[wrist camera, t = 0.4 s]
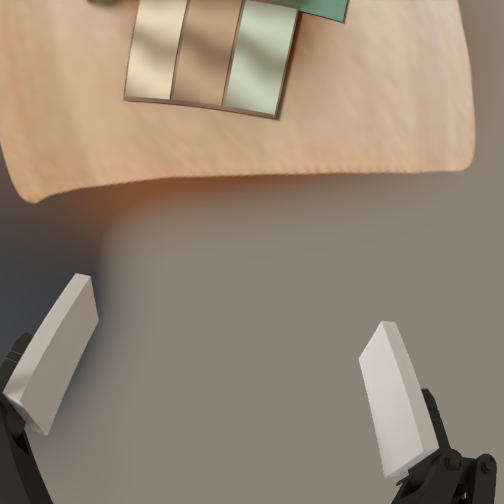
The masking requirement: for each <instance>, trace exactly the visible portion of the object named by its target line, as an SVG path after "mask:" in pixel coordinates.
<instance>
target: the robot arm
mask: <svg viewBox="0 0 504 504" xmlns="http://www.w3.org/2000/svg"><path fill="white" fill-rule="evenodd" d="M98 321H99V320H98V316H97V310H96V306H95V300H94V295H93V289H92V283H91V277H90V276H86V275H81V274H77V273H76V274H75V275H74V277H73V278H72V280H71V281H70V282H69V284H68V285H67V287H66V288H65V289H64V291H63V292H62V294H61V295H60V297H59V298H58V300H57V301H56V303H55V304H54V306H53V307H52V309H51V310H50V312H49V313H48V315H47V316H46V318H45V319H44V321H43V323H42V324H41V326H40V327H39V329H38V331H37V332H36V334H35V335H31V334H29V333H25V334H24V335H23V336H21V337H20V338H19V339H18V340H17V341H16V342H15V344H14V346H13V347H12V349H11V352H9V354H8V355H7V357H6V360H5V361H4V362H3V364H2V366H1V368H0V504H53V502H52V500H51V498H50V495H49V493H48V491H47V489H46V486H45V484H44V482H43V479H42V477H41V474H40V472H39V469H38V467H37V464H36V461H35V459H34V456H33V453H32V450H31V447H30V444H29V441H28V438H27V435H26V432H25V430H24V427H25V424H26V423H27V425H28V426H29V427H30V428H31V429H32V430H34V431H36V432H39V433H41V434H43V435H45V436H47V435H48V433H49V430H50V428H51V425H52V422H53V420H54V417H55V415H56V412H57V410H58V407H59V405H60V403H61V400H62V398H63V395H64V393H65V391H66V388H67V386H68V384H69V382H70V379H71V377H72V375H73V373H74V371H75V368H76V366H77V364H78V362H79V360H80V357H81V355H82V353H83V351H84V349H85V347H86V345H87V343H88V341H89V339H90V337H91V335H92V333H93V331H94V328H95V327H96V325H97V323H98ZM359 362H360V366H361V370H362V374H363V378H364V382H365V386H366V390H367V394H368V399H369V403H370V407H371V412H372V416H373V421H374V426H375V430H376V435H377V440H378V445H379V450H380V455H381V461H382V465H383V472H384V477H385V478H386V477H392V476H398V475H401V474H402V473H404V472H405V471H407V470H408V473H409V475H408V476H407V477H405V478H403V479H402V480H400V481H399V482H397V484H396V486H398V485H400V484H401V483H403V484H402V486H401V487H400V489H399V491H398V493H397V495H396V496H395V498H394V500H393V501H392V503H391V504H494V497H495V486H496V473H497V465H496V462H495V459H494V458H493V457H492V456H491V455H489V454H482V455H481V456H479V457H478V458H476V459H473V458H464V457H462V456H461V454H460V453H459V452H458V451H457V450H454V449H451V447H450V445H449V442H448V438H447V435H446V432H445V429H444V426H443V423H442V420H441V418H440V414H439V411H438V410H437V405H436V402H435V399H434V397H433V396H432V395H431V393H430V392H429V390H428V389H420V386H419V383H418V380H417V377H416V375H415V372H414V370H413V366H412V364H411V361H410V358H409V356H408V353H407V351H406V348H405V346H404V343H403V341H402V338H401V336H400V333H399V331H398V328H397V326H396V323H395V322H386V321H381V323H380V324H379V326H378V328H377V330H376V331H375V333H374V335H373V336H372V338H371V340H370V342H369V343H368V345H367V346H366V348H365V350H364V351H363V353H362V354H361V356H360V358H359ZM465 493H466V498H464V494H465Z"/></svg>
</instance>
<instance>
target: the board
mask: <svg viewBox="0 0 504 504" xmlns="http://www.w3.org/2000/svg"><path fill="white" fill-rule="evenodd" d="M299 7H300V6H297V5H292V4H287V3H282V2H277V1H272V0H139V4H138V9H137V13H136V18H135V23H134V29H133V34H132V40H131V46H130V52H129V59H128V65H127V73H126V81H125V89H124V98H123V100H125V101H143V102H157V103H169V104H179V105H188V106H197V107H205V108H212V109H219V110H226V111H233V112H239V113H245V114H250V115H256V116H261V117H267V118H272V119H276V114H277V109H278V104H279V100H280V95H281V90H282V86H283V81H284V77H285V72H286V67H287V63H288V58H289V53H290V49H291V44H292V40H293V35H294V30H295V26H296V21H297V17H298V12H299Z"/></svg>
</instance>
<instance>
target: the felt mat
mask: <svg viewBox="0 0 504 504" xmlns="http://www.w3.org/2000/svg"><path fill="white" fill-rule="evenodd" d="M272 1H277V2H282V3H287V4H292V5H297V6H300V7H299V11H302V12H306V13H310V14H314V15H318V16H321V17H325V18H329V19H332V20H336V21H339V22H343V18H344V13H345V8H346V3H347V0H272Z"/></svg>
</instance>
